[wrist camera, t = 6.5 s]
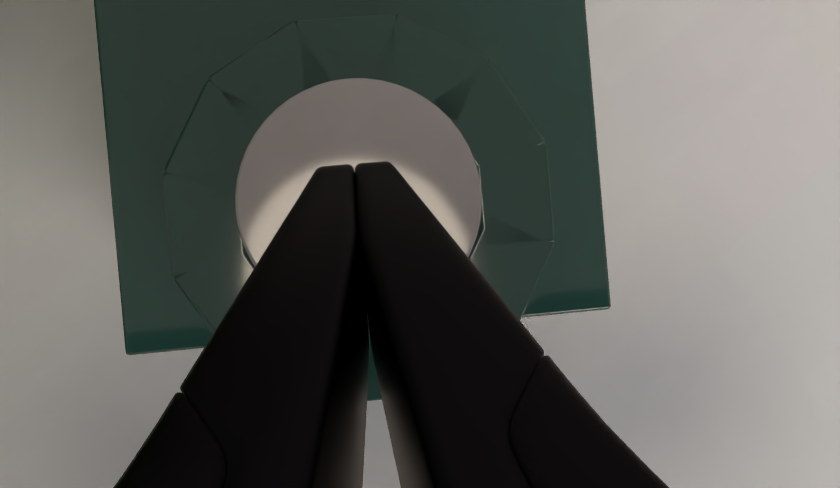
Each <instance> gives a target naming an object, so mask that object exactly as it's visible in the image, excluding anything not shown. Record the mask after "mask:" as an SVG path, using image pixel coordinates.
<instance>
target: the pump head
mask: <svg viewBox="0 0 840 488" xmlns="http://www.w3.org/2000/svg"><path fill="white" fill-rule="evenodd" d="M381 161H388V162H390V163H392V164H393V165H394V167H395V168H396V169H397V170H398V171H399V173H400V174H401V175H402V176H403V178H404V179H405V180H406V181H407V183H408V184H409V185H410V186H411V187H412V189H413V190H414V191H415V192H416V194H417V195H418V196H419V197H420V199H421V200H422V201H423V202H424V203H425V205H426V206H427V207H428V208H429V210H430V211H431V212H432V213H433V215H434V216H435V217H436V218H437V220H438V221H439V222H440V223H441V224H442V226H443V227H444V228H445V229H446V231H447V232H448V233H449V234H450V236H451V237H452V238H453V239H454V240H455V242H456V243H457V244H458V245H459V247H460V248H461V249H462V250H463V252H464V253H465V254H466V255H467V256H468V257H469V255H470V254H471V251H472V249H473V246H474V243H475V241H476V238H477V234H478V230H479V226H480V221H481V212H482V190H481V183H480V176H479V172H478V169H477V165H476V162H475V159H474V157H473V154H472V152H471V150H470V147H469V145H468V143H467V142H466V140H465V138H464V137H463V135H462V133H461V132H460V130H459V129H458V128H457V127H456V125H455V124H454V123H453V122H452V120H451V119H450V118H449V117H448V116H447V115H446V114H445V113H444V112H443V111H442V110H441V109H440V108H439V107H437V106H436V105H435V104H433V103H432V102H431V101H429V100H428V99H427V98H425V97H423V96H422V95H420V94H418V93H416V92H415V91H413V90H411V89H408V88H406V87H403V86H401V85H398V84H395V83H391V82H387V81H384V80H378V79H370V78H346V79H338V80H332V81H328V82H325V83H321V84H317V85H315V86H313V87H310V88H308V89H306V90H303V91H301V92H300V93H298V94H296V95H294V96H293V97H291V98H289V99H288V100H287V101H285V102H284V103H283V104H281V105H280V106H279V107H278V108H276V109H275V110H274V111H273V112H272V113H271V114H270V115H269V116H268V117H267V118H266V119H265V120H264V122H263V123H262V124H261V126H260V127H259V128H258V130H257V131H256V132H255V134H254V135H253V137H252V139H251V141H250V143H249V144H248V146H247V148H246V151H245V153H244V156H243V158H242V161H241V163H240V167H239V171H238V175H237V180H236V189H235V213H236V219H237V226H238V230H239V233H240V237H241V240H242V243H243V246H244V248H245V250H246V252H247V255H248V257H249V259H250V260H251V262H252V264H253V265H254V267H255V266H256V265H257V263H258V261H259V260H260V258H261V257H262V255H263V253H264V252H265V250H266V249H267V247H268V245H269V244H270V242H271V241H272V239H273V237H274V236H275V234H276V233H277V231H278V229H279V228H280V226H281V225H282V223H283V221H284V220H285V218H286V217H287V215H288V213H289V212H290V210H291V209H292V207H293V205H294V204H295V202H296V201H297V199H298V197H299V196H300V194H301V193H302V191H303V189H304V188H305V186H306V185H307V183H308V181H309V180H310V178H311V177H312V175H313V173H314V172H315V170H316V169H317V168H319V167H321V166H331V165H343V164H349V165H351V166H352V167H353V168H354V171H355V167H356V165H358V164H359V163H369V162H381ZM367 316H368V315H367Z"/></svg>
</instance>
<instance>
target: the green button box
mask: <svg viewBox="0 0 840 488" xmlns="http://www.w3.org/2000/svg"><path fill="white" fill-rule="evenodd" d="M94 7H95V18H96V29H97V40H98V51H99V62H100V73H101V84H102V95H103V106H104V117H105V128H106V139H107V150H108V162H109V173H110V184H111V195H112V206H113V217H114V228H115V239H116V250H117V261H118V272H119V283H120V294H121V305H122V316H123V327H124V338H125V349H126V354H128V355H136V354H146V353H156V352H167V351H177V350H188V349H198V348H205V346H206V345H207V343H208V341H209V340H210V338H211V337H212V335H213V333H214V332H215V330H216V329H217V327H218V325H219V324H220V322H221V321H222V319H223V317H224V316H225V314H226V313H227V311H228V309H229V308H230V306H231V305H232V303H233V301H234V300H235V298H236V297H237V295H238V293H239V292H240V290H241V289H242V287H243V285H244V284H245V282H246V281H247V279H248V277H249V276H250V274H251V273H252V271H253V269H254V268H255V267H254V265H253V264H252V262H251V260H250V259H249V257H248V255H247V252H246V250H245V248H244V246H243V243H242V240H241V237H240V233H239V230H238V226H237V219H236V213H235V189H236V180H237V175H238V171H239V167H240V163H241V161H242V158H243V156H244V153H245V151H246V148H247V146H248V144H249V143H250V141H251V139H252V137H253V135H254V134H255V132H256V131H257V130H258V128H259V127H260V126H261V124H262V123H263V122H264V120H265V119H266V118H267V117H268V116H269V115H270V114H271V113H272V112H273V111H274V110H275V109H276V108H278V107H279V106H280V105H281V104H283V103H284V102H285V101H287V100H288V99H289V98H291V97H293V96H294V95H296V94H298V93H300V92H301V91H303V90H306V89H308V88H310V87H313V86H315V85H317V84H321V83H325V82H328V81H332V80H338V79H346V78H370V79H378V80H384V81H387V82H391V83H395V84H398V85H401V86H403V87H406V88H408V89H411V90H413V91H415V92H416V93H418V94H420V95H422V96H423V97H425V98H427V99H428V100H429V101H431V102H432V103H433V104H435V105H436V106H437V107H439V108H440V109H441V110H442V111H443V112H444V113H445V114H446V115H447V116H448V117H449V118H450V119H451V120H452V122H453V123H454V124H455V125H456V127H457V128H458V129H459V130H460V132H461V133H462V135H463V137H464V138H465V140H466V142H467V143H468V145H469V147H470V150H471V152H472V154H473V157H474V159H475V162H476V165H477V169H478V172H479V176H480V183H481V190H482V212H481V221H480V226H479V230H478V234H477V238H476V241H475V243H474V246H473V249H472V251H471V254H470V255H469V257H468V258H469V259H470V260H471V261H472V263H473V264H474V265H475V266H476V268H477V269H478V270H479V271H480V272H481V274H482V275H483V276H484V277H485V279H486V280H487V281H488V282H489V284H490V285H491V286H492V287H493V288H494V290H495V291H496V292H497V293H498V295H499V296H500V297H501V298H502V300H503V301H504V302H505V303H506V304H507V306H508V307H509V308H510V309H511V311H512V312H513V313H514V314H515V316H516V317H517V318H518V319H519V320H520V319H521V317H531V316H542V315H552V314H563V313H573V312H584V311H594V310H604V309H609V308H610V306H611V305H610V293H609V281H608V269H607V258H606V246H605V234H604V222H603V210H602V198H601V187H600V175H599V163H598V151H597V139H596V128H595V116H594V104H593V92H592V80H591V68H590V57H589V45H588V33H587V21H586V9H585V0H94ZM368 329H369V324H368ZM372 400H382V397H381V392H380V388H379V383H378V378H377V374H376V369H375V364H374V359H373V354H372V348H371V341H370V333H369V370H368V389H367V401H372Z"/></svg>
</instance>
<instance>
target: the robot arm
mask: <svg viewBox="0 0 840 488" xmlns="http://www.w3.org/2000/svg"><path fill="white" fill-rule="evenodd" d="M367 315H368V316H367ZM368 324H369V329H368ZM369 333H370V341H371V348H372V354H373V359H374V364H375V369H376V374H377V378H378V383H379V388H380V392H381V397H382V401H383V406H384V411H385V415H386V420H387V425H388V429H389V434H390V438H391V443H392V448H393V452H394V457H395V462H396V466H397V471H398V475H399V480H400V485H401V488H669V487H668V486H667V485H666V484H665V483H664V482H663V481H662V480H661V479H660V478H659V477H658V476H657V475H656V474H655V473H654V472H653V471H652V470H651V469H650V468H649V467H648V466H647V465H646V464H645V463H644V462H643V461H642V460H641V459H640V458H639V457H638V456H637V455H636V454H635V453H634V452H633V451H632V450H631V449H630V448H629V447H628V446H627V445H626V444H625V443H624V442H623V441H622V440H621V439H620V438H619V437H618V436H617V435H616V434H615V433H614V432H613V431H612V430H611V428H610V427H609V426H608V425H607V424H606V423H605V422H604V421H603V420H602V419H601V418H600V416H599V415H598V414H597V413H596V412H595V411H594V409H593V408H592V407H591V406H590V405H589V404H588V403H587V401H586V400H585V399H584V398H583V397H582V396H581V394H580V393H579V392H578V391H577V390H576V389H575V388H574V386H573V385H572V384H571V383H570V382H569V380H568V379H567V378H566V377H565V375H564V374H563V373H562V372H561V371H560V369H559V368H558V367H557V366H556V364H555V363H554V362H553V361H552V359H551V358H550V357H549V356H543V355H544V350H543V349H542V348H541V346H540V345H539V344H538V343H537V341H536V340H535V339H534V338H533V337H532V335H531V334H530V333H529V332H528V330H527V329H526V328H525V327H524V325H523V324H522V323H521V322H520V320H519V319H518V318H517V317H516V316H515V314H514V313H513V312H512V311H511V309H510V308H509V307H508V306H507V304H506V303H505V302H504V301H503V300H502V298H501V297H500V296H499V295H498V293H497V292H496V291H495V290H494V288H493V287H492V286H491V285H490V284H489V282H488V281H487V280H486V279H485V277H484V276H483V275H482V274H481V272H480V271H479V270H478V269H477V268H476V266H475V265H474V264H473V263H472V261H471V260H470V259H469V258H468V256H467V255H466V254H465V253H464V252H463V250H462V249H461V248H460V247H459V245H458V244H457V243H456V242H455V240H454V239H453V238H452V237H451V236H450V234H449V233H448V232H447V231H446V229H445V228H444V227H443V226H442V224H441V223H440V222H439V221H438V220H437V218H436V217H435V216H434V215H433V213H432V212H431V211H430V210H429V208H428V207H427V206H426V205H425V203H424V202H423V201H422V200H421V199H420V197H419V196H418V195H417V194H416V192H415V191H414V190H413V189H412V187H411V186H410V185H409V184H408V183H407V181H406V180H405V179H404V178H403V176H402V175H401V174H400V173H399V171H398V170H397V169H396V168H395V167H394V165H393V164H392V163H390V162H388V161H381V162H369V163H359V164H358V165H356V167H355V171H354V168H353V167H352V166H351V165H349V164H343V165H331V166H321V167H319V168H317V169H316V170H315V172H314V173H313V175H312V177H311V178H310V180H309V181H308V183H307V185H306V186H305V188H304V189H303V191H302V193H301V194H300V196H299V197H298V199H297V201H296V202H295V204H294V205H293V207H292V209H291V210H290V212H289V213H288V215H287V217H286V218H285V220H284V221H283V223H282V225H281V226H280V228H279V229H278V231H277V233H276V234H275V236H274V237H273V239H272V241H271V242H270V244H269V245H268V247H267V249H266V250H265V252H264V253H263V255H262V257H261V258H260V260H259V261H258V263H257V265H256V266H255V268H254V269H253V271H252V273H251V274H250V276H249V277H248V279H247V281H246V282H245V284H244V285H243V287H242V289H241V290H240V292H239V293H238V295H237V297H236V298H235V300H234V301H233V303H232V305H231V306H230V308H229V309H228V311H227V313H226V314H225V316H224V317H223V319H222V321H221V322H220V324H219V325H218V327H217V329H216V330H215V332H214V333H213V335H212V337H211V338H210V340H209V341H208V343H207V345H206V346H205V348H204V349H203V351H202V353H201V354H200V356H199V357H198V359H197V361H196V362H195V364H194V365H193V367H192V369H191V370H190V372H189V373H188V375H187V377H186V378H185V380H184V381H183V383H182V385H181V387H180V390H181V392H182V393H181V392H178V393H176V394H175V395H174V397H173V398H172V400H171V402H170V403H169V405H168V406H167V408H166V410H165V411H164V413H163V414H162V416H161V418H160V419H159V421H158V423H157V424H156V426H155V427H154V429H153V430H152V432H151V433H150V435H149V436H148V438H147V439H146V441H145V442H144V444H143V445H142V447H141V448H140V450H139V451H138V453H137V454H136V456H135V457H134V459H133V460H132V462H131V463H130V465H129V466H128V468H127V469H126V471H125V472H124V474H123V475H122V477H121V478H120V479H119V481H118V482H117V483H116V485H115V486H114V487H113V488H362V484H363V465H364V446H365V427H366V408H367V389H368V370H369Z"/></svg>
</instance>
